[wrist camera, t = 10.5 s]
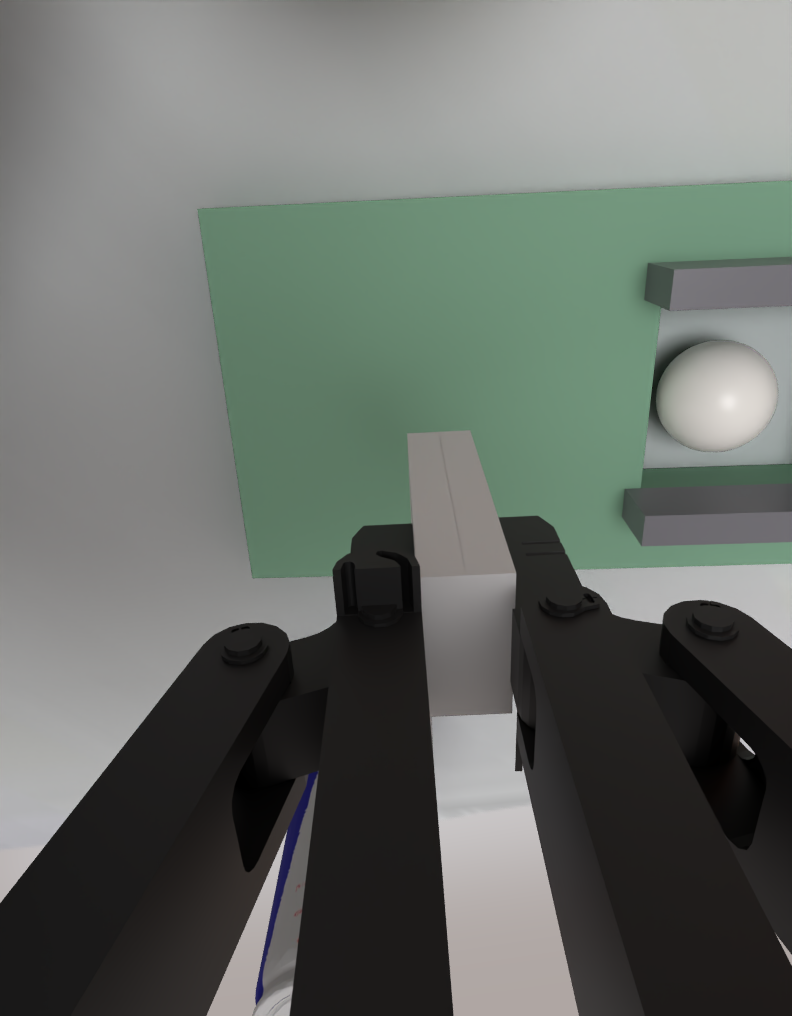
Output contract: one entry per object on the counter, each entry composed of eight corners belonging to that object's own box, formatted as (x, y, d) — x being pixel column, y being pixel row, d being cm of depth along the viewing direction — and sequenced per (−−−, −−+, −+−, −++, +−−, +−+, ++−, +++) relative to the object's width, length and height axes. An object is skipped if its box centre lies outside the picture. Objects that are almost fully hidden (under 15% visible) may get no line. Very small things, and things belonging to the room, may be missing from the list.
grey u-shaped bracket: (621, 517, 27) (641, 546, 24) (647, 263, 23) (674, 269, 20) (851, 510, 26) (893, 539, 24) (917, 251, 22) (974, 256, 20)
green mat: (262, 555, 30) (252, 578, 28) (213, 208, 24) (197, 208, 22) (818, 539, 29) (845, 562, 27) (905, 175, 23) (946, 173, 22)
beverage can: (299, 661, 32) (217, 999, 19) (413, 635, 32) (415, 967, 18) (335, 748, 34) (285, 1108, 21) (443, 726, 34) (464, 1084, 20)
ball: (738, 430, 27) (637, 434, 27) (755, 328, 26) (647, 333, 26) (788, 466, 24) (671, 470, 24) (812, 349, 22) (686, 355, 22)
